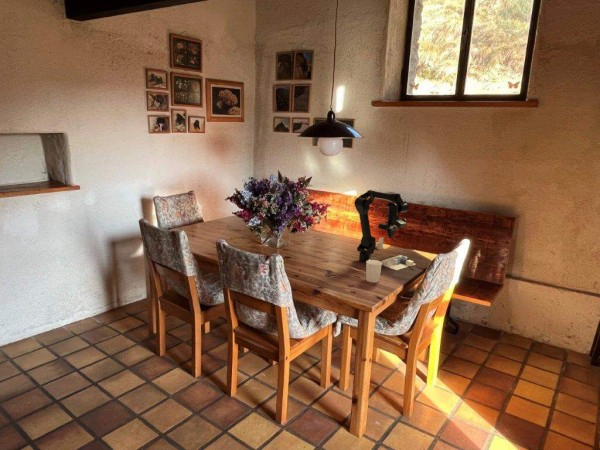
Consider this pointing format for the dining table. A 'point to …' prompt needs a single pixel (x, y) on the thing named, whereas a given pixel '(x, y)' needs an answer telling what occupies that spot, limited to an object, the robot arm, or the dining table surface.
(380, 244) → the architectural model
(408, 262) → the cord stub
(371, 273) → the white cup
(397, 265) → the backplate with stepped blocks
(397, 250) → the dining table surface
